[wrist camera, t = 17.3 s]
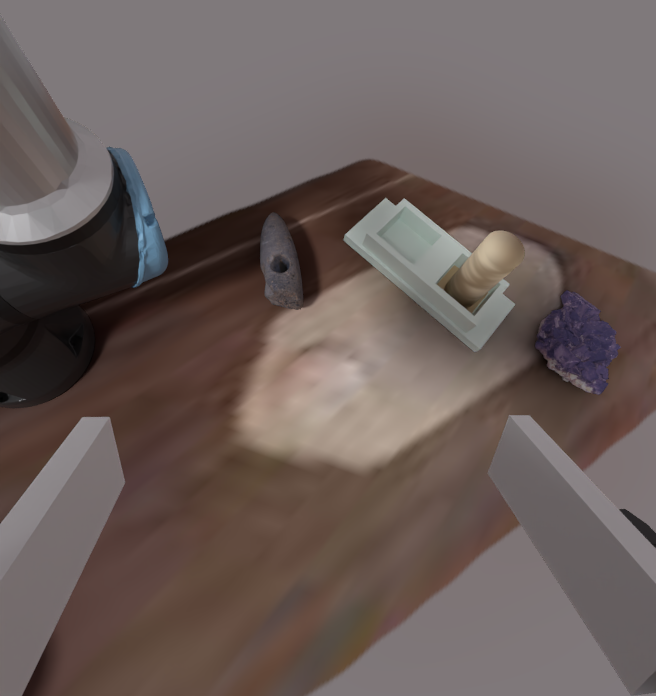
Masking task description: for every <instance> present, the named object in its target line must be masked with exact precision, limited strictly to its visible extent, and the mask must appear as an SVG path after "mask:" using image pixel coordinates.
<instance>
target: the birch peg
mask: <svg viewBox="0 0 656 696" xmlns="http://www.w3.org/2000/svg"><path fill="white" fill-rule="evenodd" d="M524 256H525V250H524V246H523V244H522V243H521V241H520V240H519V239H518V238H517V237H516V236H515V235H513V234H511V233H509V232H506V231H494V232H492V233H490V234H489V235H488V236H487V237H486V238H485V239H484V240H483V242H482V243H481V244H480V245H479V246H478V247H477V249H476V250H475V251H474V252H473V253H472V254H471V256H470V257H469V258H468V259H467V260H466V261H465V262H464V264H463V265H462V266H461V267H460V268H459V269H458V271H457V272H456V273H455V274H454V275H453V276H452V278H451V279H450V280H449V281H448V282H447V283H446V285H445V288H444V291H445V292H446V293H448V294H449V295H450V296H451V297H452V298H454V299H455V300H456V301H457V302H458V303H460V304H461V305H462V306H463V307H464V308H469V307H471V306H472V305H473V304H475V303H476V302H477V301H478V300H479V299H480V298H481V297H483V296H484V295H485V294H486V293H487V292H488V291H489V290H491V289H492V288H493V287H494V286H495V285H496V284H498V283H499V282H500V281H501V280H502V279H503V278H504V277H506V276H507V275H508V274H509V273H510V272H511V271H513V270H514V269H515V268H516V267H517V266H518V265H519V264H521V262H522V261H523V259H524Z"/></svg>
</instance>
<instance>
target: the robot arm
mask: <svg viewBox="0 0 656 696" xmlns="http://www.w3.org/2000/svg"><path fill="white" fill-rule="evenodd" d="M167 265H168V254H167V250H166V246H165V242H164V239H163V236H162V233H161V230H160V227H159V224H158V222H157V220H156V218H155V213H154V211H153V208H152V204H151V201H150V199H149V196H148V194H147V191H146V188H145V186H144V183H143V181H142V179H141V176H140V174H139V172H138V169H137V167H136V165H135V163H134V161H133V159H132V158H131V156H130V154H129V153H128V152H127V151H126V150H124V149H122V148H112V147H108V148H106V147H105V146H104V144H103V143H102V142H101V140H100V139H99V138H98V137H97V136H96V135H95V134H94V133H93V132H92V131H91V130H89V129H88V128H87V127H85V126H83V125H81V124H80V123H78V122H76V121H73V120H71V119H68V118H65V117H63V115H62V114H61V112H60V111H59V109H58V107H57V106H56V104H55V102H54V101H53V99H52V97H51V96H50V94H49V93H48V91H47V89H46V88H45V86H44V85H43V83H42V81H41V79H40V78H39V76H38V75H37V73H36V71H35V70H34V68H33V67H32V65H31V63H30V62H29V60H28V58H27V57H26V55H25V53H24V52H23V50H22V49H21V47H20V45H19V44H18V42H17V40H16V39H15V37H14V36H13V34H12V32H11V31H10V29H9V27H8V26H7V24H6V22H5V21H4V19H3V18H2V16H1V14H0V407H5V408H24V407H30V406H35V405H38V404H42V403H44V402H47V401H49V400H51V399H53V398H55V397H57V396H59V395H61V394H62V393H63V392H65V391H66V390H68V389H69V388H70V387H71V386H72V385H73V384H74V383H75V382H76V381H77V380H78V379H79V378H80V377H81V376H82V374H83V373H84V371H85V370H86V368H87V367H88V365H89V363H90V360H91V358H92V355H93V351H94V345H95V335H94V329H93V326H92V323H91V321H90V319H89V317H88V315H87V314H86V313H85V311H84V310H83V309H82V308H81V307H80V306H79V305H80V304H83V303H86V302H89V301H92V300H95V299H98V298H101V297H104V296H107V295H110V294H112V293H115V292H118V291H121V290H124V289H127V288H130V287H131V288H134V287H137V286H139V285H140V284H141V283H142V282H145V281H147V280H149V279H152V278H154V277H157V276H159V275H161V274H162V273H163V272H164V271H165V270H166V268H167ZM488 474H489V476H490V477H491V479H492V480H493V482H494V484H495V485H496V487H497V488H498V490H499V491H500V493H501V494H502V496H503V498H504V499H505V501H506V502H507V504H508V505H509V507H510V508H511V510H512V512H513V513H514V515H515V516H516V518H517V519H518V521H519V522H520V524H521V525H522V527H523V528H524V530H525V532H526V533H527V535H528V536H529V538H530V539H531V541H532V543H533V544H534V546H535V547H536V549H537V550H538V552H539V553H540V555H541V556H542V558H543V560H544V561H545V563H546V564H547V566H548V567H549V569H550V570H551V572H552V574H553V575H554V577H555V578H556V580H557V581H558V583H559V584H560V586H561V588H562V589H563V591H564V592H565V594H566V595H567V597H568V598H569V600H570V601H571V603H572V605H573V606H574V608H575V609H576V611H577V612H578V614H579V615H580V617H581V619H582V620H583V622H584V623H585V625H586V626H587V628H588V629H589V631H590V632H591V634H592V636H593V637H594V639H595V640H596V642H597V643H598V645H599V646H600V648H601V650H602V651H603V653H604V654H605V656H606V657H607V659H608V660H609V662H610V663H611V665H612V667H613V668H614V670H615V671H616V673H617V674H618V676H619V678H620V679H621V681H622V682H623V684H624V685H625V687H626V688H627V690H628V691H629V693H630V695H641V694H649V693H656V533H655V532H654V531H653V530H652V529H651V528H650V527H649V526H648V525H647V524H646V523H644V522H643V521H642V520H640V519H639V518H637V517H636V516H634V515H633V514H632V513H630V512H629V511H627V510H626V509H618V508H617V507H616V506H615V505H614V504H613V503H612V502H611V501H610V500H609V499H608V498H607V497H606V496H605V495H604V494H603V493H602V491H601V490H600V489H599V488H598V487H597V486H596V485H595V484H594V483H593V482H592V481H591V480H590V479H589V478H588V477H587V476H586V475H585V474H584V472H583V471H582V470H581V469H580V468H579V467H578V466H577V465H576V464H575V463H574V462H573V461H572V460H571V459H570V458H569V457H568V456H567V455H566V453H565V452H564V451H563V450H562V449H561V448H560V447H559V446H558V445H557V444H556V443H555V442H554V441H553V440H552V439H551V438H550V437H549V436H548V434H547V433H546V432H545V431H544V430H543V429H542V428H541V427H540V426H539V425H538V424H537V423H536V422H535V421H534V420H533V419H532V418H531V417H530V416H529V415H509V417H508V420H507V423H506V425H505V428H504V431H503V434H502V436H501V439H500V442H499V444H498V447H497V450H496V452H495V455H494V458H493V460H492V463H491V466H490V468H489V471H488ZM124 484H125V480H124V476H123V472H122V467H121V463H120V459H119V455H118V451H117V446H116V442H115V438H114V434H113V429H112V425H111V421H110V417H82V418H81V420H80V421H79V422H78V424H77V425H76V426H75V428H74V429H73V430H72V431H71V433H70V434H69V435H68V437H67V438H66V439H65V441H64V442H63V443H62V445H61V446H60V447H59V448H58V450H57V451H56V452H55V454H54V455H53V456H52V458H51V459H50V460H49V461H48V463H47V464H46V465H45V467H44V468H43V469H42V471H41V472H40V473H39V474H38V476H37V477H36V478H35V480H34V481H33V482H32V484H31V485H30V486H29V487H28V489H27V490H26V491H25V493H24V494H23V495H22V497H21V498H20V499H19V500H18V502H17V503H16V504H15V506H14V507H13V508H12V510H11V511H10V512H9V514H8V515H7V516H6V517H5V519H4V520H3V521H2V523H1V524H0V696H22V695H23V693H24V690H25V688H26V686H27V684H28V682H29V680H30V678H31V676H32V674H33V672H34V670H35V668H36V666H37V664H38V662H39V659H40V657H41V655H42V653H43V651H44V649H45V647H46V645H47V643H48V641H49V639H50V637H51V635H52V633H53V631H54V628H55V626H56V624H57V622H58V620H59V618H60V616H61V614H62V612H63V610H64V608H65V606H66V604H67V602H68V600H69V597H70V595H71V593H72V591H73V589H74V587H75V585H76V583H77V581H78V579H79V577H80V575H81V573H82V571H83V569H84V566H85V564H86V562H87V560H88V558H89V556H90V554H91V552H92V550H93V548H94V546H95V544H96V542H97V540H98V538H99V535H100V533H101V531H102V529H103V527H104V525H105V523H106V521H107V519H108V517H109V515H110V513H111V511H112V509H113V507H114V504H115V502H116V500H117V498H118V496H119V494H120V492H121V490H122V488H123V486H124Z"/></svg>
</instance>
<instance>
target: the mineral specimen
mask: <svg viewBox="0 0 656 696" xmlns="http://www.w3.org/2000/svg"><path fill="white" fill-rule="evenodd" d="M561 299H562V304H563V305H564V306H563V307H562V309H559V310H552V312H551V314H549V315H547V317H545V319H543V320H542V321H541V323H540V326H539V333H538V334H537V338H538V340H537V341H536V344H535V348H536V349H538V350H540V353H542V354H543V357H544V358H545V359H546V360H548V364H547V367H548V369H551V370H555V372H557V373H558V374H559V375H560V376H562V379H563V380H564V381H566V382H568V381H570V382H571V383H572V384H573V385H575V386H576V387H579V388H581V389H583V390H584V391H586V392H589V393H593V394H599V395H600V394H601V393H602V392H603V391H604V389H605V388H606V386H607V385H608V383H606V380H607V379H609V378H608V370H609V369H607V368H606V367H607V366H608V365H609V364H610V362H611V361H612V360H611V359H613V358H616V357H617V355H618V352H617V350H618V349H619V348H621V347H620V346H619V345H618V344H616V340H615V335H616V331H615V330H613V329H612V328H611V326H610V325H608V324H609V323H607V322H604V321H599V320H600V318H599V313H600V312H601V311H600V310H599V309H597V308H596V307H595V306H593V305H592V304H591V303H589V302H588V301H586V300H585V299H584V298H583V297H582V296H580V295H579V294H577V293H575V292H572V293H571V292H569V291H568V290H566V291H565V292H564V293H563V294H562V295H561Z"/></svg>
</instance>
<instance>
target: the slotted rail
mask: <svg viewBox="0 0 656 696" xmlns="http://www.w3.org/2000/svg"><path fill="white" fill-rule="evenodd" d="M343 241H345V242H346V243H347V244H348V245H349V246H350V247H352V248H353V249H354V250H355V251H356V252H358V253H359V254H360V255H361V256H362V257H363V258H365V259H366V260H367V261H368V262H369V263H370V264H372V265H373V266H374V267H375V268H376V269H377V270H379V271H380V272H381V273H382V274H383V275H385V276H386V277H387V278H388V279H389V280H390V281H392V282H393V283H394V284H395V285H396V286H397V287H399V288H400V289H401V290H402V291H403V292H404V293H406V294H407V295H408V296H409V297H410V298H412V299H413V300H414V301H415V302H416V303H417V304H419V305H420V306H421V307H422V308H423V309H424V310H426V311H427V312H428V313H429V314H430V315H431V316H433V317H434V318H435V319H436V320H437V321H439V322H440V323H441V324H442V325H443V326H444V327H446V328H447V329H448V330H449V331H450V332H451V333H453V334H454V335H455V336H456V337H457V338H458V339H460V340H461V341H462V342H463V343H464V344H466V345H467V346H468V347H469V348H470V349H471V350H473V351H474V352H477V351H478V350H480V349H481V348H482V347H483V345H484V344H485V343H486V341H487V340H488V339H489V338H490V336H491V335H492V334H493V332H494V331H495V330H496V329H497V327H498V326H499V325H500V324H501V322H502V321H503V320H504V318H505V317H506V316H507V315H508V313H509V312H510V311H511V309H512V308H513V307H514V306H515V303H513V302H512V301H511V300H510V299H508V298H507V297H506V296H505V295H504V294H502V293H503V292H504V291H505V290H506V289H507V287H508V286H509V285H510V284H509V283H508V282H506V281H505V280H504V279H502V280H501V281H500V282H499V283H498V284H496V285H495V286H494V287H493V288H492V289H491V290H489V291H488V292H487V293H486V294H485V295H484V296H483V297H481V298H480V299H479V300H478V301H477V302H476V303H475V304H473V305H472V306H471V307H469V308H464V307H463V306H462V305H461V304H460V303H458V302H457V301H456V300H455V299H454V298H452V297H451V296H450V295H449V294H448V293H446V292H445V291H444V288H445V285H446V283H447V282H448V281H449V280H450V279H451V278H452V276H453V275H454V274H455V273H456V272H457V271H458V269H459V268H460V267H461V266H462V265H463V264H464V262H465V261H466V260H467V259H468V258H469V257H470V256H471V254H472V253H471V252H470V251H468V250H467V249H466V248H465V247H463V246H462V245H461V244H460V243H459V242H457V241H456V240H455V239H454V238H452V237H451V236H450V235H449V234H448V233H446V232H445V231H444V230H443V229H441V228H440V227H439V226H438V225H436V224H435V223H434V222H433V221H432V220H430V219H429V218H428V217H427V216H425V215H424V214H423V213H422V212H421V211H419V210H418V209H417V208H416V207H414V206H413V205H412V204H411V203H409V202H408V201H407V200H406V199H405V198H404V199H403V200H402V201H401V202H400V203H399V204H398V205H397V206H395V205H394V204H393V203H391V202H390V201H389V200H388V199H387V198H385V199H384V200H383V201H382V202H381V203H379V204H378V205H377V206H376V207H375V208H374V209H373V210H372V211H371V212H369V213H368V214H367V215H366V216H365V217H364V218H363V219H362V220H361V221H360V222H358V223H357V224H356V225H355V226H354V227H353V228H352V229H351V230H350V231H348V232H347V233H346V234H345V236H344V240H343Z"/></svg>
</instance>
